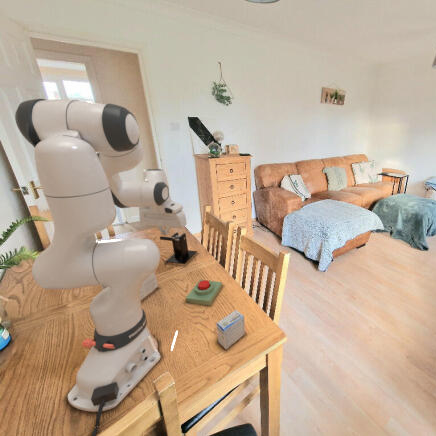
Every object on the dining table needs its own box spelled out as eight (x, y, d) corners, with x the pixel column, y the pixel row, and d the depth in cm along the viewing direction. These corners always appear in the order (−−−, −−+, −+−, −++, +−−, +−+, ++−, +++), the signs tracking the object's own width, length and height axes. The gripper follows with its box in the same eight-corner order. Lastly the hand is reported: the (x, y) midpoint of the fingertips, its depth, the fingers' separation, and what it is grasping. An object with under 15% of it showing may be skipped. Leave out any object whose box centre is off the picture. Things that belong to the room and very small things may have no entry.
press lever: (170, 241, 108) (171, 236, 108) (159, 240, 108) (160, 235, 108) (185, 240, 120) (186, 236, 120) (175, 239, 120) (175, 234, 120)
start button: (206, 291, 96) (206, 287, 95) (196, 289, 96) (196, 286, 96) (211, 284, 100) (211, 280, 99) (201, 282, 100) (201, 279, 100)
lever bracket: (184, 266, 117) (181, 241, 112) (166, 263, 118) (161, 239, 113) (197, 253, 128) (194, 230, 123) (179, 251, 129) (176, 228, 124)
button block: (209, 305, 93) (209, 297, 92) (186, 302, 95) (184, 294, 93) (222, 286, 104) (221, 278, 103) (200, 283, 106) (199, 276, 104)
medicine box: (237, 327, 84) (235, 309, 81) (245, 335, 82) (244, 315, 78) (217, 342, 78) (215, 322, 75) (226, 350, 76) (224, 330, 73)
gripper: (132, 206, 101) (139, 235, 106) (177, 210, 99) (182, 240, 104) (143, 201, 107) (149, 229, 112) (186, 205, 104) (190, 233, 110)
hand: (165, 234), depth 108 cm, fingers closed
